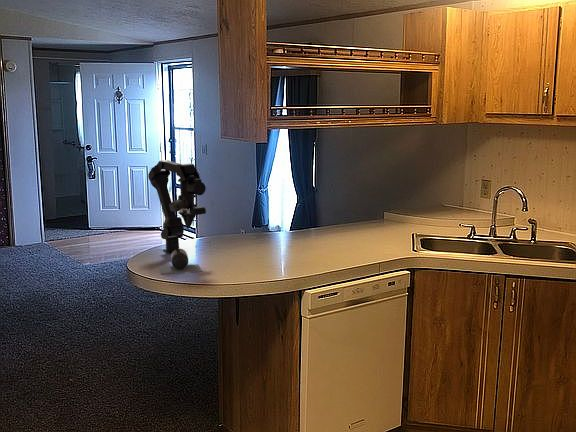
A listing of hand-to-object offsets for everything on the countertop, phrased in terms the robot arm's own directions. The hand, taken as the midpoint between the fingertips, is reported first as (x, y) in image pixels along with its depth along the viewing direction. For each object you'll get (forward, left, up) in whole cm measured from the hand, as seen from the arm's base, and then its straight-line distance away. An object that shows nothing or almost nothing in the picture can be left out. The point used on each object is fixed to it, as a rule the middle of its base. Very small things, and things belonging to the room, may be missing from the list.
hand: (188, 228), depth 274 cm
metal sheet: (+16, -14, -13) cm, 25 cm away
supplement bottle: (+9, -10, -9) cm, 17 cm away
